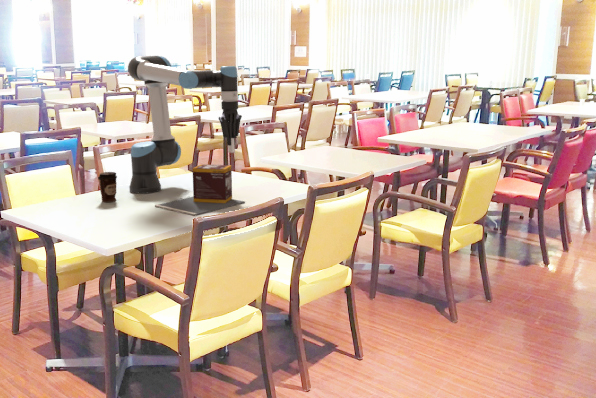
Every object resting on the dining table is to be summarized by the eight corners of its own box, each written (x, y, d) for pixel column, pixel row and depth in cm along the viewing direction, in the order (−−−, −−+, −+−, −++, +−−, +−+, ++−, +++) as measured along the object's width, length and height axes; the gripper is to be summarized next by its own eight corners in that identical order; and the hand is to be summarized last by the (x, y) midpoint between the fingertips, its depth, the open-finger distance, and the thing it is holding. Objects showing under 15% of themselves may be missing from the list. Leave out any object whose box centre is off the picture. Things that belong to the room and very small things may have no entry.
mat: (154, 206, 284) (154, 205, 284) (205, 195, 307) (205, 193, 307) (194, 215, 268) (194, 214, 268) (244, 202, 291) (244, 201, 291)
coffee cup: (123, 200, 297) (121, 172, 294) (110, 203, 290) (108, 175, 287) (108, 198, 301) (106, 170, 298) (95, 202, 293) (93, 173, 290)
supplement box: (226, 203, 287) (225, 169, 284) (193, 202, 290) (191, 167, 287) (232, 198, 297) (232, 165, 294) (201, 197, 300) (200, 163, 297)
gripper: (225, 101, 285) (227, 154, 291) (245, 100, 295) (247, 151, 300) (213, 101, 290) (215, 153, 295) (233, 99, 300) (235, 149, 305)
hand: (231, 152), depth 298 cm, fingers closed
